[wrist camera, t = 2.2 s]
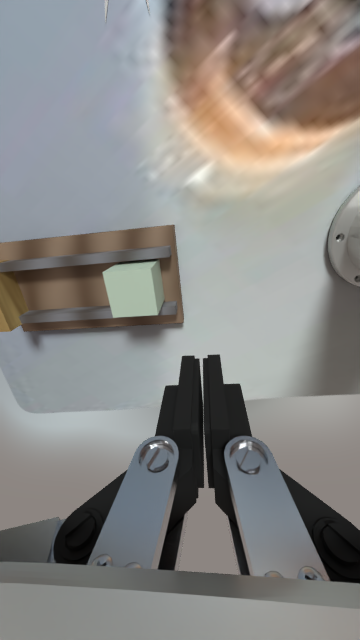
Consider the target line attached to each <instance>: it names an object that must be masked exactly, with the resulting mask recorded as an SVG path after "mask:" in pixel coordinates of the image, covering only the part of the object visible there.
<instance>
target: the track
mask: <svg viewBox="0 0 360 640" xmlns="http://www.w3.org/2000/svg"><path fill="white" fill-rule="evenodd" d="M155 259H159V261H160V269H161V276H162V284H163V291H164V302H163V304H162V307H161V309H160V311H159V314H158V315H150V316H133V317H117V318H113V315H112V311H111V307H110V303H109V298H108V294H107V290H106V286H105V282H104V277H103V273H102V272H104V271H106V270H107V269H109V268H110V267H112V266H114V265H115V264H117V263H121V262H132V261H143V260H155ZM183 320H184V314H183V305H182V295H181V285H180V275H179V266H178V256H177V246H176V236H175V227H174V225H166V226H157V227H147V228H138V229H128V230H119V231H109V232H100V233H90V234H81V235H71V236H62V237H52V238H43V239H33V240H24V241H14V242H5V243H0V332H7V331H12V330H13V329H15V328H17V327H18V326H20V325H21V326H22V328H23V330H24V332H25V331H43V330H61V329H79V328H97V327H115V326H134V325H152V324H170V323H183Z"/></svg>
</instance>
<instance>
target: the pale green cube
mask: <svg viewBox="0 0 360 640" xmlns="http://www.w3.org/2000/svg"><path fill="white" fill-rule="evenodd" d="M102 273H103V277H104V282H105V286H106V290H107V294H108V298H109V303H110V307H111V311H112V315H113V318H117V317H133V316H150V315H158V314H159V311H160V309H161V307H162V304H163V302H164V291H163V284H162V276H161V269H160V261H159V259H155V260H143V261H132V262H121V263H117V264H115V265H114V266H112V267H110V268H109V269H107V270H106V271H104V272H102Z"/></svg>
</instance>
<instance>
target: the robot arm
mask: <svg viewBox="0 0 360 640" xmlns="http://www.w3.org/2000/svg"><path fill="white" fill-rule="evenodd" d="M337 235H338V238H337V239H336V236H337ZM328 253H329V258H330V262H331V264H332V266H333V268H334V270H335V271H336V272H337V273H338V275H339V276H340V277H342V278H343V279H344V280H346V281H347V282H349V283H351V284H353V285H355V286H358V287H360V186H359V187H358V188H357V189H356V190H355V191H354V192H352V193H351V194H350V196H349V197H348V198H347V199H346V201H345V202H344V203H343V204H342V206H341V207H340V209H339V211H338V212H337V214H336V216H335V218H334V220H333V223H332V226H331V228H330V233H329V238H328ZM203 394H204V435H205V448H206V459H207V472H208V484H209V488H215V502H216V504H217V505H218V506H219V507H220V508H221V509H222V511H223V512H224V513H225V514H226V515H227V522H228V527H229V532H230V537H231V542H232V546H233V551H234V556H235V561H236V565H237V570H238V575H231V574H217V573H202V572H187V571H178V569H179V563H180V557H181V551H182V545H183V540H184V534H185V528H186V522H187V514H188V510H189V509H190V508H191V507H192V506H193V505H194V504H195V503H196V498H198V488H204V449H203V448H204V446H203V400H202V387H201V375H200V362H199V359H195V357H194V356H182V362H181V369H180V377H179V385H172V386H166V387H165V390H164V395H163V400H162V405H161V410H160V415H159V420H158V424H157V429H156V434H155V437H151V438H149V439H147V440H145V441H144V442H143V443H142V444H141V445H140V446H139V447H138V449H137V450H136V452H135V454H134V456H133V459H132V461H131V463H130V465H129V468H128V470H126V471H125V472H124V473H123V474H121V475H120V476H119V477H117V478H116V479H115V480H114V481H112V482H111V483H110V484H108V485H107V486H106V487H105V488H103V489H102V490H101V491H99V492H98V493H97V494H96V495H94V496H93V497H92V498H90V499H89V500H88V501H87V502H85V503H84V504H83V505H82V506H80V507H79V508H78V509H77V510H75V511H74V512H73V513H72V514H71V515H70V516H69V517H68V518H67V519H63V520H60V518H59V517H56V518H52V519H47V520H43V521H39V522H36V523H31V524H27V525H22V526H18V527H14V528H9V529H5V530H1V531H0V640H360V530H358V529H357V528H356V527H355V526H354V525H353V524H352V523H351V522H349V521H348V520H347V519H345V518H344V517H342V516H341V515H340V514H339V513H337V512H336V511H335V510H333V509H332V508H331V507H329V506H328V505H327V504H325V503H324V502H323V501H321V500H320V499H319V498H317V497H316V496H315V495H313V494H312V493H311V492H309V491H308V490H307V489H305V488H304V487H302V486H301V485H300V484H299V483H297V482H296V481H295V480H293V479H292V478H291V477H289V476H288V475H286V474H285V473H284V472H282V471H281V470H280V469H279V468H278V466H277V464H276V461H275V459H274V457H273V455H272V453H271V451H270V450H269V448H268V447H267V446H266V445H265V444H264V443H263V442H262V441H260V440H258V439H256V438H254V437H252V434H251V430H250V426H249V421H248V417H247V412H246V408H245V404H244V399H243V395H242V390H241V386H240V384H223V376H222V368H221V361H220V355H208V358H203Z"/></svg>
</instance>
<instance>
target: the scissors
mask: <svg viewBox="0 0 360 640" xmlns="http://www.w3.org/2000/svg"><path fill="white" fill-rule="evenodd" d="M146 2H147V6H148V9H149V4H148V0H146ZM107 6H108V0H105V22H106V15H107ZM149 13H150V12H149Z"/></svg>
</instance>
